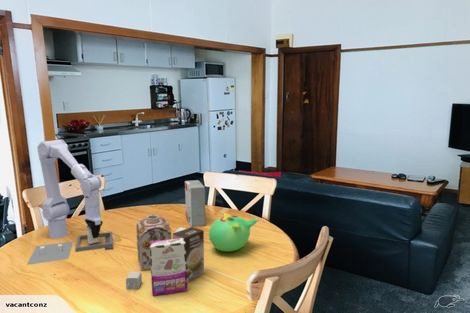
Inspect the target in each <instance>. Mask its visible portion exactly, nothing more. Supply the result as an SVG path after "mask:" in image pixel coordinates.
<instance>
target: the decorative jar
mask: <svg viewBox="0 0 470 313" xmlns="http://www.w3.org/2000/svg"><path fill="white" fill-rule="evenodd" d="M168 239H173V237H172V228H171V226H170V222H169V220H168V219H167V218H163V217H160V216H159V215H158V214H150V215H147V216H146V218H143V219H141V220H139V221H138V222H137V223H136V246H137V247H136V249H137V259H138V264H139V268H140V270H141V271H142V272H143V271H147V270H151V262H150V242H152V241H160V240H168Z"/></svg>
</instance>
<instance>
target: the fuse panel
mask: <svg viewBox="0 0 470 313" xmlns="http://www.w3.org/2000/svg"><path fill="white" fill-rule="evenodd" d="M73 243H74V241H67V242H66V241H65V242H58V243H51V244H50V243H49V244H43V245H42V244H40V245H36V246H35V248H34V249H33V252H32V253H31V255H30V257H29V259H28V262H27V263H26V266H27V265H34V264H36V265H37V264H42V263H47V262H48V263H49V262H57V261H64V260H69V258H70V255H71V251H72V247H73Z"/></svg>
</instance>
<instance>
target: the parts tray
mask: <svg viewBox="0 0 470 313" xmlns="http://www.w3.org/2000/svg"><path fill="white" fill-rule="evenodd" d="M99 238H104V240H105V241H104V242H105V243H99V244H92V245H91V244H89V245H83V246H80V245H81V240H82V241H84V240H88V238H87V234H84V235H78V236H77V239H76V244H75V252H76V253H78V252H86V251H93V250H99V249H104V251H109V250H113V248H114V247H113V246H114V243H113V242H114V241H113V239H114V238H113V231H107V232H99Z"/></svg>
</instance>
